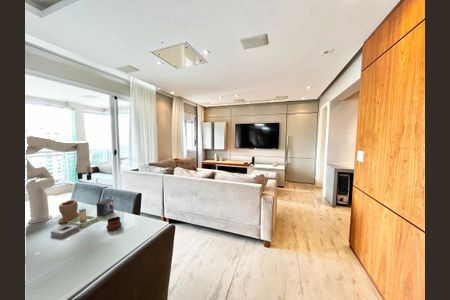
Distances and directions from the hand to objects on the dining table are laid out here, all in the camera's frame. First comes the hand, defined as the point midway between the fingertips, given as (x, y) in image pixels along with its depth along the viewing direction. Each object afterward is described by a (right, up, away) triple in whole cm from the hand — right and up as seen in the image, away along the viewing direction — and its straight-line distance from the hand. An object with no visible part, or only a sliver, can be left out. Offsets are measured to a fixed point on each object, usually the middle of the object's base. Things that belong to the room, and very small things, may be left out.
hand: (84, 179), depth 138 cm
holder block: (+5, -31, -23) cm, 39 cm away
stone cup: (-7, -31, -3) cm, 31 cm away
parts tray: (+6, -30, -8) cm, 32 cm away
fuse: (+5, -30, -8) cm, 31 cm away
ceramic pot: (+34, -31, -18) cm, 49 cm away
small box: (+12, -29, +7) cm, 32 cm away
